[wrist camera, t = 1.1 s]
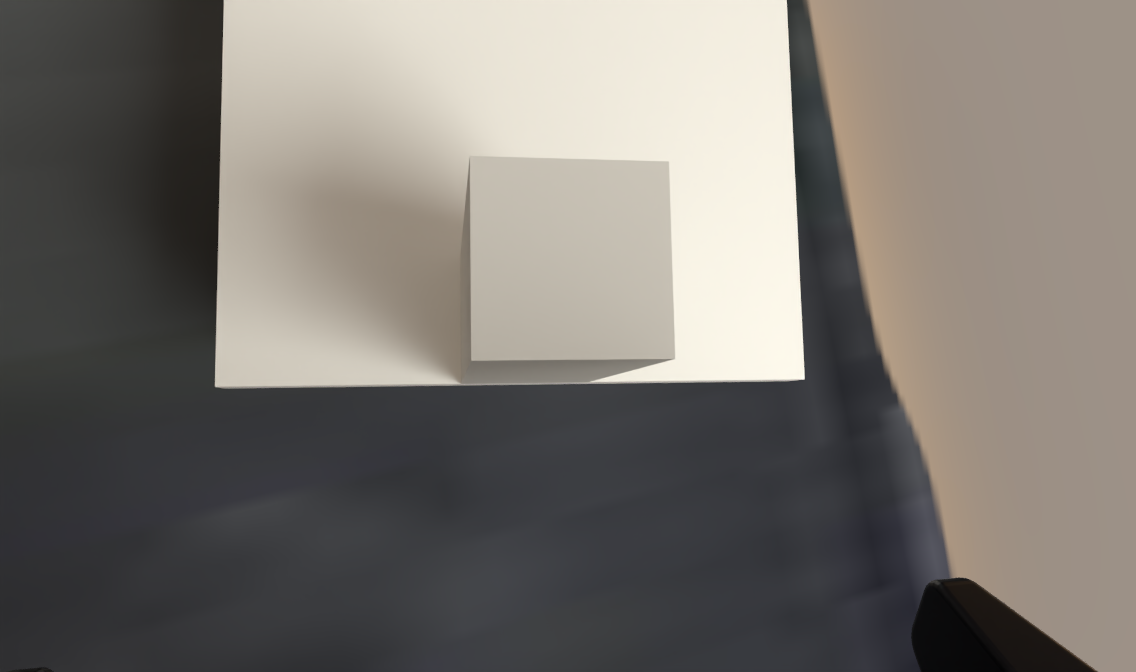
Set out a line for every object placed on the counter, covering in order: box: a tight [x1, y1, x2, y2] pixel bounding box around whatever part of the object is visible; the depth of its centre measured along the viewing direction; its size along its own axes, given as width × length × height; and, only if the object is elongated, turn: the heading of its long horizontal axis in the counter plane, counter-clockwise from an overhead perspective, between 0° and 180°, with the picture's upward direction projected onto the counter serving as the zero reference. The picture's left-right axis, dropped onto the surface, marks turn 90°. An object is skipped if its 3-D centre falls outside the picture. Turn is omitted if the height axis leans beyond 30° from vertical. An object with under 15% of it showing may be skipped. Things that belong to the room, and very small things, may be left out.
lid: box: [215, 0, 805, 388], centre depth 14 cm, size 10×12×7 cm
